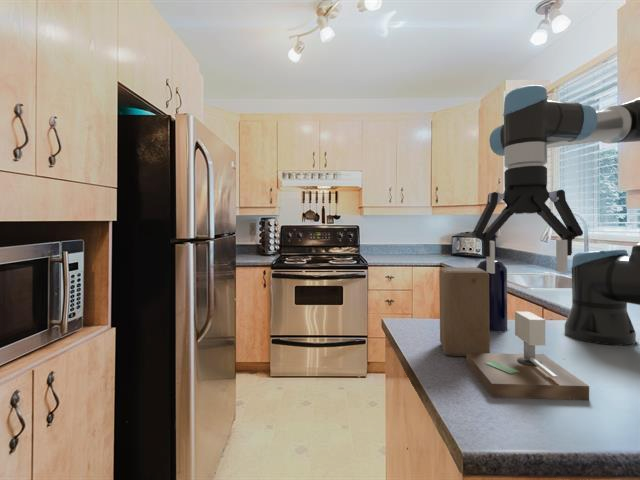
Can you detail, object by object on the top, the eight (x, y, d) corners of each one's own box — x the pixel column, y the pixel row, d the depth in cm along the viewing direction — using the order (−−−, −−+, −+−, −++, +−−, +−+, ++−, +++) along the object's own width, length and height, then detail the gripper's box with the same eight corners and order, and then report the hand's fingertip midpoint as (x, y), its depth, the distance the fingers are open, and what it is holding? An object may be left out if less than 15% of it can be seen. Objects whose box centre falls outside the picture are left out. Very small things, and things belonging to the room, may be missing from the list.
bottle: (515, 331, 104) (514, 226, 103) (482, 332, 104) (481, 227, 104) (499, 323, 114) (499, 226, 113) (469, 323, 114) (469, 227, 113)
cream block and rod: (529, 353, 78) (528, 311, 78) (563, 379, 64) (563, 329, 64) (515, 352, 78) (514, 311, 78) (546, 378, 65) (546, 328, 64)
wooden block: (490, 359, 83) (490, 271, 83) (444, 356, 85) (443, 271, 85) (480, 345, 93) (480, 266, 93) (439, 343, 95) (438, 266, 95)
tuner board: (543, 365, 79) (543, 352, 79) (589, 399, 63) (589, 384, 63) (466, 363, 81) (466, 351, 81) (492, 396, 65) (491, 381, 65)
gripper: (581, 167, 76) (581, 269, 77) (456, 172, 79) (457, 270, 80) (604, 161, 68) (604, 274, 69) (465, 167, 72) (466, 275, 72)
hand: (525, 272), depth 74 cm, fingers open, 13 cm apart
